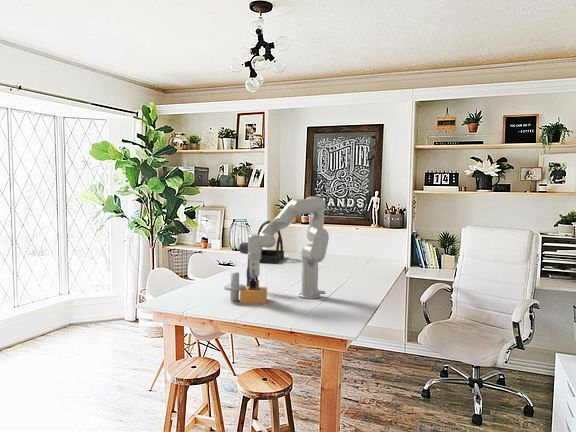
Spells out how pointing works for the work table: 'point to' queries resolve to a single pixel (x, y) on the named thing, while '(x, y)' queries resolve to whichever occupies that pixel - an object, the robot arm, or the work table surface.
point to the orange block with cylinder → (245, 292)
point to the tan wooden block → (256, 285)
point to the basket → (272, 255)
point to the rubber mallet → (244, 249)
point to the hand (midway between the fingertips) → (253, 285)
